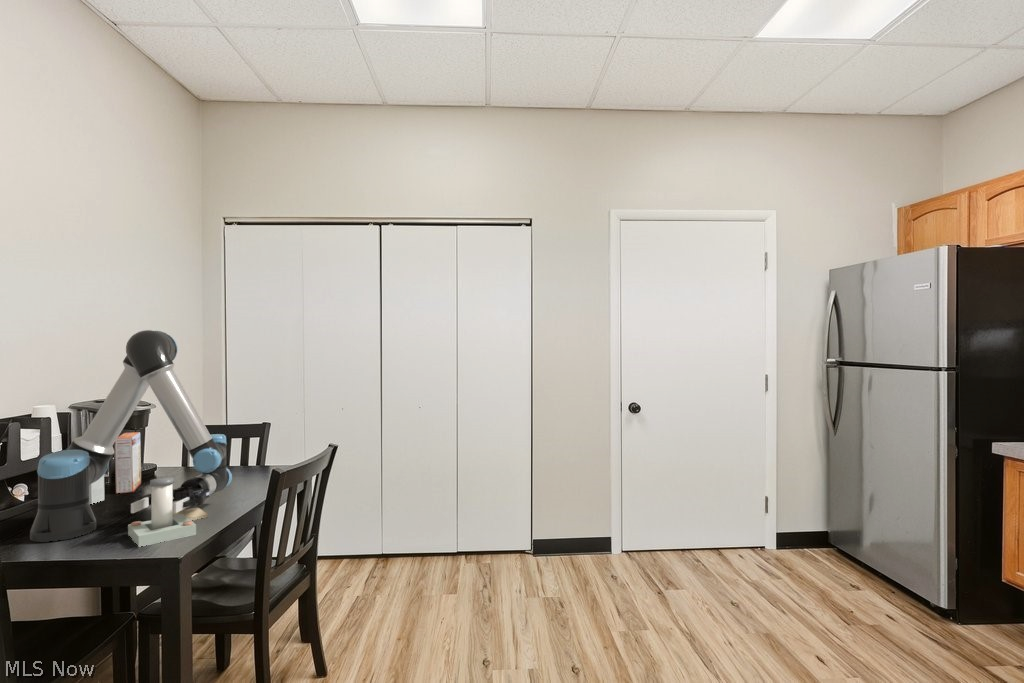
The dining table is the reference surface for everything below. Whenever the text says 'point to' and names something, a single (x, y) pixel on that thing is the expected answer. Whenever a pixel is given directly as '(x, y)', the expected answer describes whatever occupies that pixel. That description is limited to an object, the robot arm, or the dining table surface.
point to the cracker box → (128, 462)
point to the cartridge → (161, 502)
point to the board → (192, 513)
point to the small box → (96, 491)
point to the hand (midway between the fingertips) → (153, 508)
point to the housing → (161, 531)
